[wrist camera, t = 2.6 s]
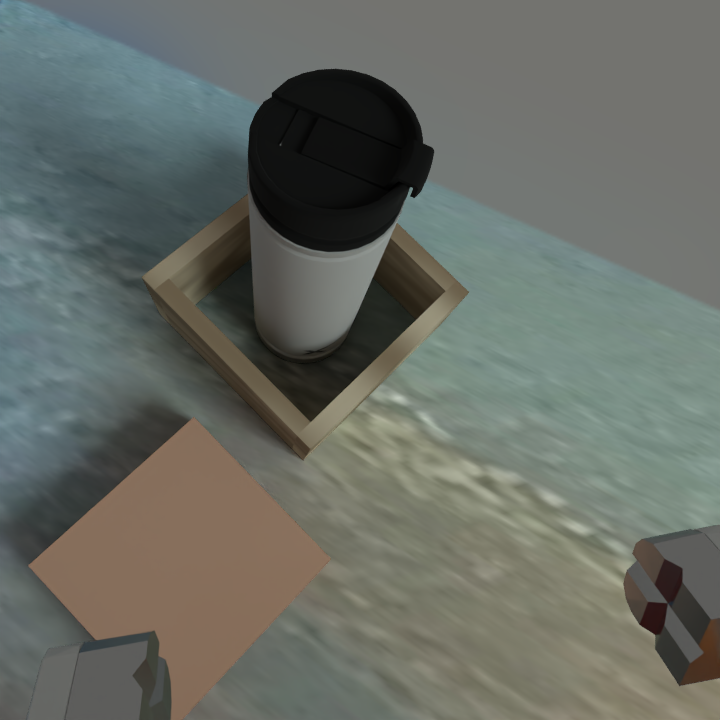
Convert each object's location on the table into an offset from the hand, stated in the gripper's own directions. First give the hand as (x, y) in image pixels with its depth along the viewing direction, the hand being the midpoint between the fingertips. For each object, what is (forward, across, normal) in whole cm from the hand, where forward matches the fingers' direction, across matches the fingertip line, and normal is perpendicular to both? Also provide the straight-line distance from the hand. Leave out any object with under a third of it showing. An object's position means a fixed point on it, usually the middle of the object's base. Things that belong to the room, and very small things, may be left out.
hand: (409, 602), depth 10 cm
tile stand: (+19, +8, +19) cm, 28 cm away
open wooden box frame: (+29, -1, +10) cm, 31 cm away
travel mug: (+29, -1, +10) cm, 31 cm away
